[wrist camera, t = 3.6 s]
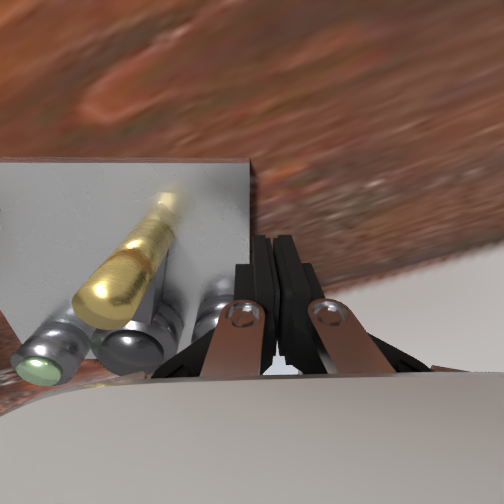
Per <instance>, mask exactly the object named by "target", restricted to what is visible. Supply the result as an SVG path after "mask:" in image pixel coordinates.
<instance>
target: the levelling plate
mask: <svg viewBox="0 0 504 504" xmlns="http://www.w3.org/2000/svg"><path fill="white" fill-rule="evenodd" d="M147 218H153V219H158V220H160V221H162V222H164V223H165V224H166V225H167V226H168V227H169V228H170V230H171V232H172V236H173V239H172V243H171V245H170V247H169V249H168V251H167V256H166V264H165V272H164V280H163V287H162V295H161V302H162V303H164V304H165V305H167V306H169V307H170V308H171V309H172V310H174V311H175V312H176V314H177V315H178V316H179V318H180V320H181V322H182V326H183V332H182V336H181V340H180V343H179V347H178V350H177V354H178V353H179V352H181V351H182V350H183V349H185V348H186V347H188V346H189V345H191V344H192V343H194V342H195V341H196V340H198V339H199V338H201V337H202V336H204V335H205V334H206V333H208V332H209V331H211V330H212V329H214V328H215V327H216V325H217V321H218V318H219V315H220V312H221V311H222V309H223V307H224V306H226V305H227V304H228V303H230V302H232V301H234V282H235V265H236V264H249V220H250V161H249V158H182V157H0V310H1V311H2V313H3V314H4V316H5V318H6V319H7V321H8V322H9V324H10V325H11V327H12V329H13V330H14V332H15V333H16V335H17V336H18V338H19V340H20V341H21V343H22V345H21V347H20V348H19V349H18V350H17V351H16V352H15V353H14V354H13V355H12V357H11V365H12V367H13V369H14V370H15V371H16V372H17V373H18V375H19V376H20V377H21V378H22V379H24V380H25V381H27V382H29V383H32V384H35V385H40V386H56V385H62V384H65V383H67V382H69V381H70V380H71V379H72V377H73V376H74V374H75V373H76V371H77V370H78V368H79V366H80V365H81V363H82V362H83V360H84V359H97V358H96V357H95V356H94V354H93V352H92V350H91V347H90V340H91V336H92V334H93V333H94V331H95V330H96V328H95V327H93V326H90V325H88V324H87V323H85V322H84V321H82V320H81V319H80V318H79V317H78V316H77V315H76V313H75V312H74V310H73V307H72V298H73V296H74V295H75V293H76V292H77V291H78V290H79V289H80V288H81V287H82V285H83V284H84V283H85V282H86V281H87V280H88V279H89V278H90V276H91V275H92V274H93V273H94V272H95V271H96V270H97V269H98V267H99V266H100V265H101V264H102V263H103V262H104V261H105V260H106V259H107V257H108V256H109V255H110V254H111V253H112V252H113V251H114V250H115V248H116V247H117V246H118V245H119V244H120V243H121V242H122V241H123V240H124V238H125V237H126V236H127V235H128V234H129V233H130V232H131V231H132V229H133V228H134V227H135V226H136V225H137V224H138V223H139V222H140V221H142V220H144V219H147Z"/></svg>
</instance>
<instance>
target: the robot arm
mask: <svg viewBox="0 0 504 504" xmlns="http://www.w3.org/2000/svg"><path fill="white" fill-rule="evenodd" d="M277 341H278V349H279V355H280V356H285V361H286V365H293V366H294V367H295V368H297V369H298V370H299V371H298V375H263V373H264V372H265V371H266V370H267V369H268V368H269V367H270V366H271V365H272V361H273V356H275V355H276V344H277ZM0 504H504V373H500V372H468V371H462V370H457V369H450V368H445V367H439V366H434V365H432V366H431V368H430V369H429V368H428V367H427V366H426V365H425V364H423V363H422V362H420V361H419V360H417V359H415V358H414V357H412V356H410V355H408V354H406V353H404V352H402V351H400V350H398V349H397V348H395V347H393V346H391V345H389V344H387V343H385V342H384V341H382V340H380V339H378V338H376V337H374V336H373V335H371V334H369V333H367V332H366V330H364V328H363V326H362V325H361V324H360V322H359V321H358V320H357V318H356V317H355V315H354V314H353V313H352V312H351V310H350V309H349V308H348V307H347V306H346V305H344V304H343V303H341V302H338V301H336V300H333V299H326V298H325V296H324V294H323V291H322V289H321V286H320V284H319V282H318V279H317V277H316V275H315V272H314V270H313V267H312V265H311V264H310V263H301V261H300V258H299V256H298V253H297V250H296V247H295V244H294V242H293V239H292V236H291V235H278V238H274V239H273V252H272V246H271V241H270V238H265V235H253V246H252V264H236V265H235V282H234V301H232V302H230V303H228V304H227V305H226V306H224V307H223V309H222V311H221V312H220V315H219V318H218V321H217V325H216V327H215V328H214V329H212V330H211V331H209V332H208V333H206V334H205V335H204V336H202V337H201V338H199V339H198V340H196V341H195V342H194V343H192V344H191V345H189V346H188V347H186V348H185V349H183V350H182V351H181V352H179V353H178V354H176V355H175V356H173V357H172V358H171V359H169V360H168V361H166V362H165V363H163V364H162V365H161V366H160V367H159V368H158V369H156V370H155V372H154V373H151V374H147V375H146V373H145V371H143V372H138V373H134V374H129V375H125V376H120V377H116V378H111V379H107V380H102V381H98V382H93V383H89V384H84V385H79V386H75V387H71V388H66V389H62V390H58V391H54V392H51V393H48V394H45V395H42V396H40V397H37V398H34V399H31V400H28V401H25V402H23V403H21V404H18V405H16V406H14V407H12V408H10V409H8V410H6V411H4V412H1V413H0Z"/></svg>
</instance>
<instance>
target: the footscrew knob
mask: <svg viewBox="0 0 504 504" xmlns="http://www.w3.org/2000/svg"><path fill="white" fill-rule="evenodd" d="M172 239H173V236H172V232H171V230H170V228H169V227H168V226H167V225H166V224H165V223H164V222H162V221H160V220H158V219H153V218H147V219H144V220H142V221H140V222H139V223H138V224H137V225H136V226H135V227H134V228H133V229H132V231H131V232H130V233H129V234H128V235H127V236H126V237H125V238H124V240H123V241H122V242H121V243H120V244H119V245H118V246H117V247H116V248H115V250H114V251H113V252H112V253H111V254H110V255H109V256H108V257H107V259H106V260H105V261H104V262H103V263H102V264H101V265H100V266H99V267H98V269H97V270H96V271H95V272H94V273H93V274H92V275H91V276H90V278H89V279H88V280H87V281H86V282H85V283H84V284H83V285H82V287H81V288H80V289H79V290H78V291H77V292H76V293H75V295H74V296H73V298H72V307H73V310H74V312H75V313H76V315H77V316H78V317H79V318H80V319H81V320H82V321H84V322H85V323H87V324H88V325H90V326H93V327H95V328H96V330H95V331H94V333H93V334H92V336H91V340H90V347H91V350H92V352H93V354H94V356H95V357H96V358H97V359H98V360H99V361H100V363H101V364H102V365H103V366H104V367H105V368H106V369H107V370H109V371H110V372H112V373H114V374H116V375H119V376H125V375H129V374H134V373H138V372H143V371H145V373H146V375H147V374H151V373H154V372H155V370H156V369H158V368H159V367H160V366H161V365H162V364H163V363H165V362H166V361H168V360H169V359H171V358H172V357H173V356H175V355H176V354H177V350H178V347H179V343H180V340H181V336H182V332H183V326H182V322H181V320H180V318H179V316H178V315H177V314H176V312H175V311H174V310H172V309H171V308H170V307H169V306H167V305H165V304H164V303H162V302H161V295H162V287H163V280H164V272H165V264H166V256H167V251H168V249H169V247H170V245H171V243H172Z"/></svg>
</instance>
